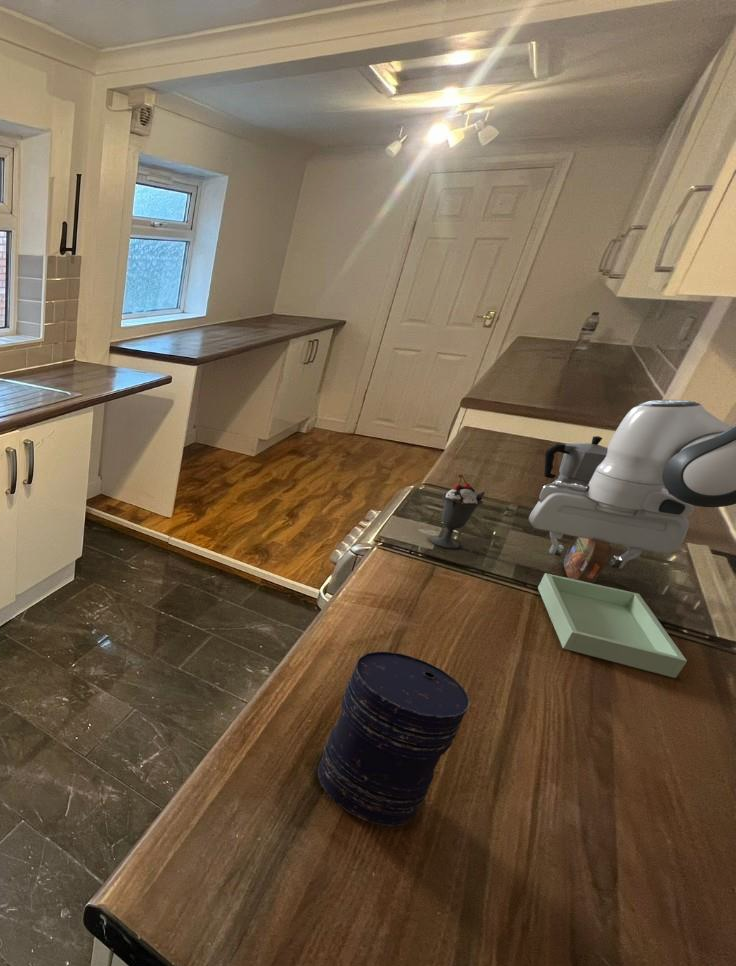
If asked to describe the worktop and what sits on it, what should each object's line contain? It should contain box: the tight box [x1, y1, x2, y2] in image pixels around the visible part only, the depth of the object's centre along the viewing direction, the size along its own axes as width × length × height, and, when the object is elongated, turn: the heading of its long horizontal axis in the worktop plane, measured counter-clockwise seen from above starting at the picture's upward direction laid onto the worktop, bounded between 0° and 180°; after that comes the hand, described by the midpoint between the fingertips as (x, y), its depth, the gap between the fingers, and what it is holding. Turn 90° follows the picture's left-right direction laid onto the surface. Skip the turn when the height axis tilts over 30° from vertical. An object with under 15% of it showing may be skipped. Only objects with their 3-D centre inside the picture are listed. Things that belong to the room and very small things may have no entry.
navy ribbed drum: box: [317, 651, 470, 827], centre depth 60 cm, size 10×10×15 cm
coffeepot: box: [543, 435, 608, 487], centre depth 136 cm, size 15×9×18 cm, turn 79°
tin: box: [563, 536, 612, 584], centre depth 108 cm, size 15×3×8 cm, turn 144°
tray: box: [537, 572, 688, 679], centre depth 93 cm, size 13×22×3 cm, turn 149°
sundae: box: [430, 474, 486, 550], centre depth 117 cm, size 7×7×15 cm
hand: (584, 560), depth 108 cm, fingers open, 7 cm apart
